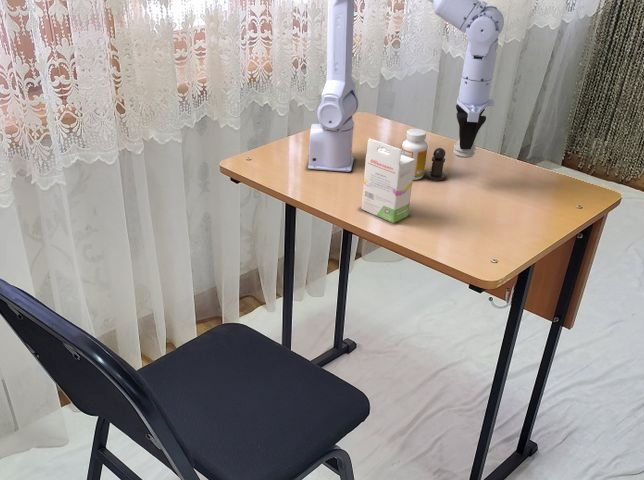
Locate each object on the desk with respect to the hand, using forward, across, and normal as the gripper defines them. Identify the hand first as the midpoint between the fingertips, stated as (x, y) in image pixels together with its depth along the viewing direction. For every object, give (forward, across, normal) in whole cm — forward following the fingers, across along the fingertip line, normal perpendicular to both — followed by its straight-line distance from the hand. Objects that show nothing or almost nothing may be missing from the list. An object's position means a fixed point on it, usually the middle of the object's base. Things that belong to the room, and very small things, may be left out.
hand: (465, 144), depth 150 cm
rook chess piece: (+2, 0, 0) cm, 2 cm away
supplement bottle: (+9, +4, +10) cm, 14 cm away
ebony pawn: (+9, +4, +5) cm, 11 cm away
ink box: (+9, -16, +14) cm, 23 cm away
